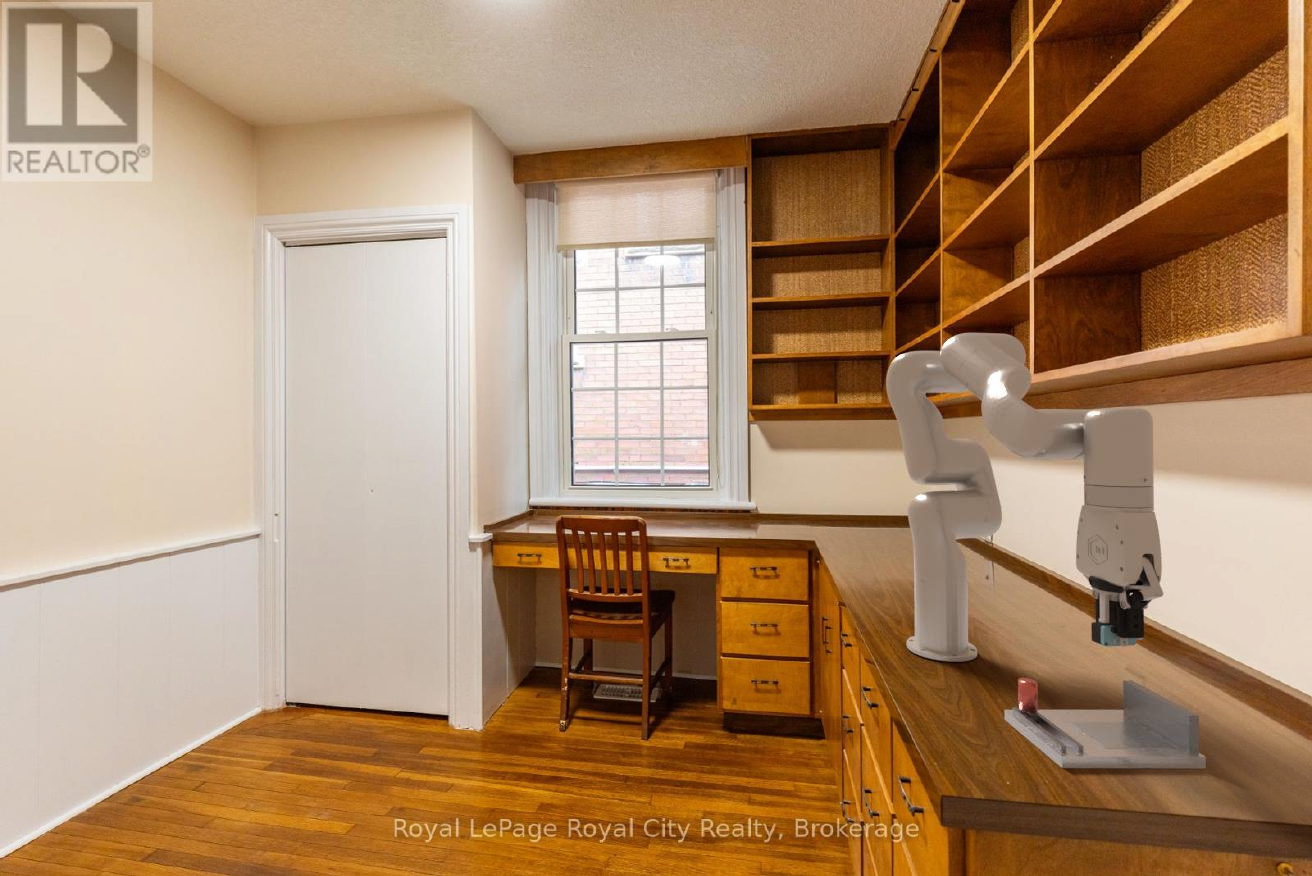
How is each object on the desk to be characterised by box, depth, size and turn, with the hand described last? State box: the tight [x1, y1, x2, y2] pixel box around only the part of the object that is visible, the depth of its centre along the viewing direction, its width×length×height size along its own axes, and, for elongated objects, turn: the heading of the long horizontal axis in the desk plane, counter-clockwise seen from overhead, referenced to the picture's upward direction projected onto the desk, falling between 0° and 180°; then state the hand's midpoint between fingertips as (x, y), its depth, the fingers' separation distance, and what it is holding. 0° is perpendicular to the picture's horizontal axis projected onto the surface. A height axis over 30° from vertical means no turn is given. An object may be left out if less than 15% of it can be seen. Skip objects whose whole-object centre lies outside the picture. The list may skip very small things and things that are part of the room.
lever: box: [1017, 677, 1039, 720], centre depth 86 cm, size 3×2×5 cm
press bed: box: [1004, 679, 1207, 770], centre depth 82 cm, size 13×18×6 cm
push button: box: [1090, 576, 1144, 648], centre depth 81 cm, size 7×5×10 cm
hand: (1119, 631), depth 81 cm, fingers closed on push button, 3 cm apart
